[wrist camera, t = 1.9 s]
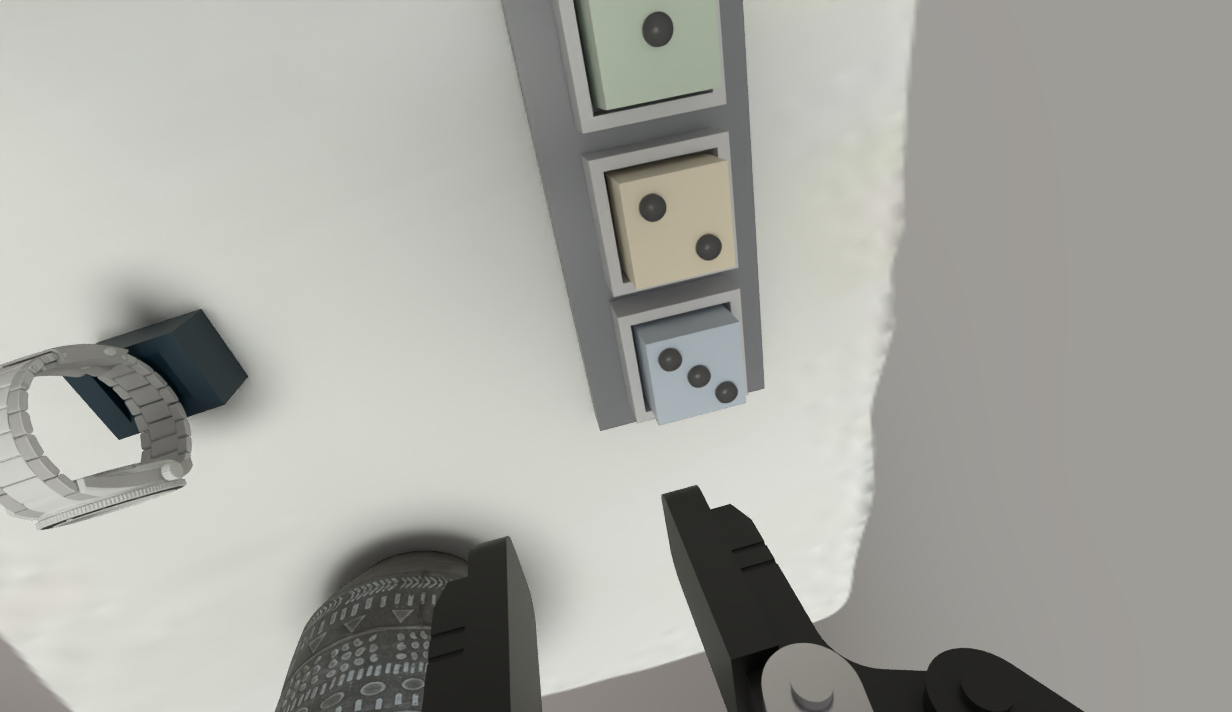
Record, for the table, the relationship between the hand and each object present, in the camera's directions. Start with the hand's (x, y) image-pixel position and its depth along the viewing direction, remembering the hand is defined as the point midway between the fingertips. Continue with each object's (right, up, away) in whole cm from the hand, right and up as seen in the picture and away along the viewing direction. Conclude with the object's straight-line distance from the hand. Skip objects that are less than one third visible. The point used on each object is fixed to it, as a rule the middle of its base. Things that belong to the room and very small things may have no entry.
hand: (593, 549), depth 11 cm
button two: (+3, +11, +18) cm, 21 cm away
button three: (+4, +4, +22) cm, 22 cm away
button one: (+1, +18, +14) cm, 23 cm away
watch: (-23, +4, +20) cm, 31 cm away
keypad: (+2, +13, +21) cm, 24 cm away
